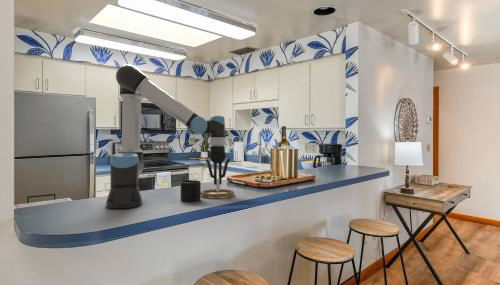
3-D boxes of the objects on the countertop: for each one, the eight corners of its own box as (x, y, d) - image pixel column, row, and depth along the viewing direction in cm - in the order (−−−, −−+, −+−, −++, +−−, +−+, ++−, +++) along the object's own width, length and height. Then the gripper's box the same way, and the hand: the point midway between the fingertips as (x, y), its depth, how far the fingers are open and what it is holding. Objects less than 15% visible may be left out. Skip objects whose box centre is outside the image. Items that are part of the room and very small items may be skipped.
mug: (186, 203, 139) (186, 183, 139) (177, 199, 149) (177, 181, 149) (205, 201, 144) (206, 182, 144) (196, 197, 154) (196, 179, 154)
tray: (203, 199, 150) (203, 194, 150) (199, 193, 166) (199, 189, 166) (237, 197, 155) (237, 193, 155) (230, 192, 171) (230, 188, 171)
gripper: (206, 145, 155) (206, 192, 155) (231, 145, 159) (231, 191, 159) (204, 145, 162) (204, 190, 162) (228, 145, 166) (228, 189, 166)
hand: (217, 190), depth 161 cm, fingers closed
